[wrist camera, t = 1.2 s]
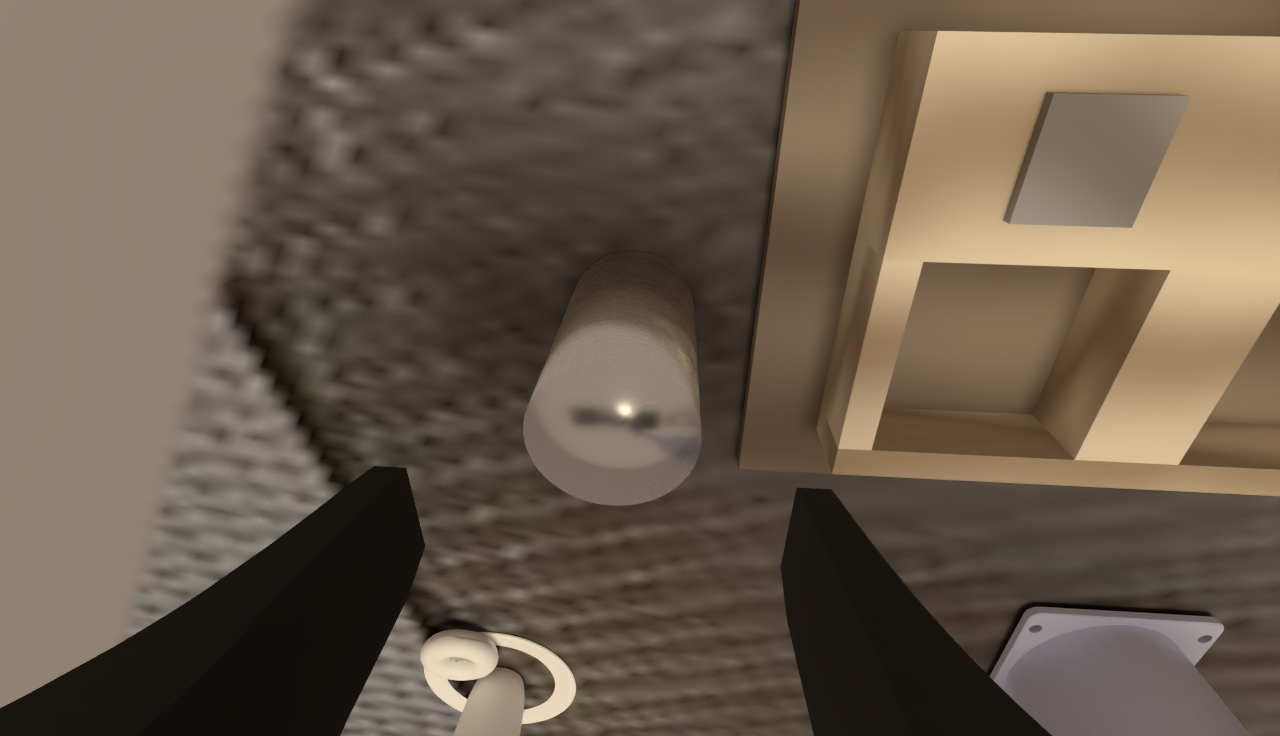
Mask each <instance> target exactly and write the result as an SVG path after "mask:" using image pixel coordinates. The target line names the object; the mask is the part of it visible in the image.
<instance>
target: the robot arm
mask: <svg viewBox="0 0 1280 736" xmlns="http://www.w3.org/2000/svg"><path fill="white" fill-rule="evenodd" d="M424 548H425V543H424V539H423V535H422V531H421V527H420V523H419V519H418V515H417V511H416V507H415V502H414V498H413V494H412V490H411V486H410V482H409V478H408V474H407V470H406V468H399V467H379V466H374V467H372V468H371V469H370V470H368V471H367V472H365V473H364V474H363V475H361V476H360V477H358V478H357V479H356V480H354V481H353V482H352V483H351V484H349V485H348V486H347V487H345V488H344V489H343V490H341V491H340V492H339V493H337V494H336V495H335V496H334V497H332V498H331V499H330V500H328V501H327V502H326V503H324V504H323V505H322V506H321V507H319V508H318V509H317V510H315V511H314V512H313V513H311V514H310V515H309V516H307V517H306V518H305V519H304V520H302V521H301V522H300V523H298V524H297V525H296V526H294V527H293V528H292V529H290V530H289V531H288V532H286V533H285V534H284V535H282V536H281V537H280V538H278V539H277V540H276V541H274V542H273V543H272V544H270V545H269V546H268V547H266V548H265V549H263V550H262V551H260V552H259V553H258V554H256V555H255V556H253V557H252V558H250V559H249V560H248V561H246V562H245V563H243V564H242V565H240V566H239V567H238V568H236V569H235V570H233V571H232V572H230V573H229V574H228V575H226V576H225V577H223V578H222V579H220V580H219V581H218V582H216V583H215V584H213V585H212V586H210V587H209V588H208V589H206V590H205V591H203V592H202V593H200V594H199V595H197V596H196V597H194V598H193V599H191V600H190V601H188V602H186V603H185V604H183V605H182V606H180V607H179V608H177V609H175V610H174V611H172V612H171V613H169V614H168V615H166V616H164V617H163V618H161V619H159V620H158V621H156V622H154V623H153V624H151V625H150V626H148V627H146V628H145V629H143V630H141V631H140V632H138V633H136V634H135V635H133V636H132V637H130V638H128V639H126V640H125V641H123V642H121V643H120V644H118V645H116V646H115V647H113V648H111V649H109V650H107V651H106V652H104V653H102V654H100V655H98V656H97V657H95V658H93V659H91V660H90V661H87V662H86V663H84V664H82V665H80V666H78V667H77V668H75V669H73V670H71V671H69V672H67V673H66V674H64V675H62V676H60V677H58V678H57V679H55V680H53V681H51V682H49V683H47V684H46V685H44V686H42V687H40V688H38V689H36V690H35V691H33V692H31V693H29V694H27V695H25V696H23V697H22V698H20V699H18V700H16V701H14V702H12V703H10V704H8V705H6V706H4V707H2V708H0V736H340V735H341V732H342V730H343V728H344V726H345V724H346V721H347V719H348V717H349V715H350V713H351V711H352V709H353V707H354V705H355V703H356V701H357V699H358V697H359V695H360V693H361V691H362V689H363V687H364V685H365V683H366V681H367V679H368V677H369V675H370V673H371V671H372V669H373V667H374V665H375V663H376V661H377V659H378V657H379V655H380V653H381V651H382V649H383V647H384V645H385V643H386V641H387V639H388V637H389V635H390V633H391V630H392V628H393V626H394V624H395V622H396V620H397V618H398V616H399V614H400V612H401V610H402V608H403V606H404V604H405V601H406V599H407V597H408V594H409V592H410V589H411V586H412V583H413V581H414V578H415V575H416V572H417V569H418V566H419V563H420V560H421V557H422V554H423V551H424ZM781 571H782V581H783V590H784V598H785V606H786V614H787V622H788V626H789V630H790V635H791V639H792V644H793V648H794V652H795V657H796V661H797V665H798V670H799V674H800V678H801V682H802V686H803V691H804V695H805V699H806V703H807V708H808V712H809V716H810V720H811V724H812V729H813V733H814V736H1251V735H1250V734H1249V733H1248V731H1247V730H1246V729H1245V728H1244V727H1243V725H1242V724H1241V723H1240V722H1239V720H1238V719H1237V718H1236V717H1235V715H1234V714H1233V713H1232V712H1231V711H1230V709H1229V708H1228V707H1227V706H1226V704H1225V703H1224V702H1223V701H1222V700H1221V698H1220V697H1219V696H1218V695H1217V693H1216V692H1215V691H1214V690H1213V688H1212V687H1211V686H1210V685H1209V684H1208V682H1207V681H1206V680H1205V679H1204V677H1203V676H1202V675H1201V674H1200V672H1199V671H1198V670H1197V669H1196V668H1195V665H1196V663H1197V662H1198V661H1199V660H1200V659H1201V657H1202V656H1203V655H1204V654H1205V653H1206V651H1207V650H1208V649H1209V648H1210V647H1211V645H1212V644H1213V643H1214V642H1215V641H1216V639H1217V638H1218V637H1219V636H1220V635H1221V633H1222V632H1223V630H1224V626H1223V625H1222V624H1221V623H1220V621H1219V620H1218V619H1216V618H1215V617H1210V616H1193V615H1176V614H1159V613H1141V612H1124V611H1107V610H1090V609H1073V608H1055V607H1032V608H1029V609H1028V610H1026V611H1025V612H1024V614H1023V616H1022V618H1021V619H1020V621H1019V623H1018V625H1017V627H1016V629H1015V631H1014V632H1013V634H1012V636H1011V638H1010V640H1009V642H1008V643H1007V645H1006V647H1005V649H1004V651H1003V653H1002V654H1001V656H1000V658H999V660H998V662H997V664H996V665H995V667H994V669H993V671H992V673H991V675H990V676H988V675H987V674H986V673H985V672H984V671H983V670H982V669H981V668H980V667H979V666H978V665H977V664H976V663H975V662H974V661H973V660H972V658H971V657H970V656H969V655H968V654H967V653H966V652H965V651H964V650H963V649H962V648H961V647H960V646H959V645H958V644H957V643H956V642H955V641H954V639H953V638H952V637H951V636H950V635H949V634H948V633H947V632H946V631H945V630H944V628H943V627H942V626H941V625H940V624H939V623H938V622H937V621H936V620H935V618H934V617H933V616H932V615H931V614H930V613H929V612H928V611H927V609H926V608H925V607H924V606H923V605H922V604H921V603H920V601H919V600H918V599H917V598H916V597H915V596H914V594H913V593H912V592H911V591H910V590H909V588H908V587H907V586H906V585H905V583H904V582H903V581H902V580H901V579H900V577H899V576H898V575H897V574H896V573H895V571H894V570H893V569H892V568H891V567H890V565H889V564H888V563H887V562H886V560H885V559H884V558H883V557H882V555H881V554H880V553H879V551H878V550H877V549H876V548H875V546H874V545H873V544H872V542H871V541H870V540H869V538H868V537H867V536H866V535H865V533H864V532H863V531H862V529H861V528H860V527H859V525H858V524H857V523H856V521H855V520H854V519H853V517H852V516H851V515H850V513H849V512H848V511H847V509H846V508H845V507H844V505H843V504H842V502H841V501H840V500H839V498H838V497H837V496H836V494H835V493H834V492H833V491H832V490H831V489H812V488H797V489H796V494H795V499H794V504H793V509H792V514H791V519H790V524H789V529H788V534H787V539H786V544H785V548H784V553H783V558H782V563H781Z"/></svg>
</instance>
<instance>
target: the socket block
mask: <svg viewBox="0 0 1280 736" xmlns="http://www.w3.org/2000/svg"><path fill="white" fill-rule="evenodd" d="M737 461H738V468H739V469H743V470H763V471H784V472H804V473H824V474H842V475H862V476H882V477H902V478H923V479H943V480H963V481H984V482H1004V483H1024V484H1044V485H1065V486H1085V487H1105V488H1126V489H1146V490H1166V491H1186V492H1207V493H1227V494H1247V495H1268V496H1280V0H796V4H795V12H794V19H793V27H792V35H791V43H790V51H789V58H788V66H787V74H786V82H785V90H784V97H783V105H782V113H781V121H780V129H779V136H778V144H777V152H776V160H775V168H774V176H773V183H772V191H771V199H770V207H769V215H768V222H767V230H766V238H765V246H764V254H763V261H762V269H761V277H760V285H759V293H758V300H757V308H756V316H755V324H754V332H753V339H752V347H751V355H750V363H749V371H748V379H747V386H746V394H745V402H744V410H743V418H742V425H741V433H740V441H739V449H738V457H737Z"/></svg>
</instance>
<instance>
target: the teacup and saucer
mask: <svg viewBox="0 0 1280 736" xmlns="http://www.w3.org/2000/svg"><path fill="white" fill-rule="evenodd" d="M495 645H499V646H505V647H510V648H514V649H517V650H520V651H523V652H525V653H528V654H530V655H532V656H533V657H535V658H537V659H538V660H540V661H541V662H542V663H543V664H545V665H546V666H547V667H548V669H549V670H550V671H551V673H552V674H553V677H554V679H555V690H554V693H553V695H552V696H551V697H550V699H549V700H547V701H546V702H545V703H543V704H541V705H539V706H537V707H534V708H531V709H526V710H524V697H525V693H524V684H523V680H522V678H521V676H520V675H519V674H518V673H516V672H515V671H513V670H510V669H507V668H502V667H496V665H497V663H498V658H499V656H498V651H497V648H496V646H495ZM420 659H421V662H422V664H423V666H424V674H425V678H426V680H427V682H428V684H429V686H430V688H431V689H432V690H433V691H434V693H435V694H436V695H437V696H438V697H439V698H440V699H442V700H443V701H444V702H446V703H447V704H448V705H450V706H451V707H453V708H455V709H457V710H459V711H461V712H462V714H461V717H460V719H459V722H458V725H457V727H456V730H455V732H454V735H453V736H520V731H521V724H528V723H535V722H540V721H544V720H547V719H550V718H552V717H554V716H556V715H558V714H560V713H561V712H563V711H564V710H565V709H566V708H567V707H568V706H569V705H570V704H571V703H572V701H573V699H574V697H575V693H576V682H575V678H574V675H573V673H572V672H571V670H570V668H569V667H568V666H567V664H566V663H565V662H564V661H563V660H562V659H561V658H560V657H558V656H557V655H556V654H555V653H553V652H552V651H550V650H549V649H547V648H545V647H543V646H541V645H539V644H537V643H535V642H533V641H530V640H527V639H524V638H521V637H518V636H514V635H509V634H504V633H495V632H474V631H469V630H460V629H454V630H446V631H442V632H439V633H436V634H434V635H433V636H431V637H430V638H429V639H428V640H427V641H426V642H425V644H424V645H423V647H422V649H421V653H420ZM447 679H450V680H460V681H465V680H474V679H478V680H477V682H476V683H475V685H474V687H473V689H472V691H471V693H470V695H469V697H468V699H466V698H464V697H463V696H461V695H460V694H459V693H458V692H456V691H455V690H454V689H453V688H452V686H451V685H450V684H449V682H448V680H447Z"/></svg>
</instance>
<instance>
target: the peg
mask: <svg viewBox="0 0 1280 736" xmlns="http://www.w3.org/2000/svg"><path fill="white" fill-rule="evenodd" d="M523 434H524V440H525V445H526V448H527V451H528V454H529V455H530V457H531V459H532V461H533V463H534V464H535V466H536V467H537V468H538V470H539V471H540V472H541V473H542V474H543V475H544V476H545V478H547V479H548V480H549V481H550V482H551V483H552V484H554V485H555V486H557V487H558V488H559V489H561V490H563V491H564V492H566V493H568V494H570V495H572V496H574V497H577V498H579V499H582V500H585V501H588V502H592V503H597V504H602V505H612V506H625V505H635V504H640V503H645V502H648V501H651V500H654V499H656V498H659V497H661V496H663V495H665V494H667V493H668V492H670V491H672V490H673V489H675V488H676V487H677V486H678V485H680V484H681V483H682V482H683V481H684V480H685V479H686V478H687V476H688V475H689V474H690V472H691V471H692V470H693V468H694V466H695V464H696V462H697V460H698V457H699V454H700V449H701V418H700V400H699V383H698V365H697V347H696V330H695V312H694V301H693V295H692V292H691V289H690V287H689V285H688V283H687V281H686V280H685V278H684V276H683V275H682V274H681V273H680V272H679V270H678V269H676V268H675V267H674V266H673V265H672V264H670V263H669V262H668V261H666V260H664V259H662V258H660V257H659V256H656V255H653V254H650V253H646V252H641V251H622V252H617V253H613V254H610V255H607V256H605V257H603V258H601V259H599V260H598V261H596V262H595V263H594V264H592V265H591V266H590V267H589V268H588V269H587V270H586V271H585V272H584V273H583V275H582V276H581V278H580V279H579V281H578V284H577V286H576V288H575V290H574V293H573V295H572V298H571V300H570V303H569V305H568V308H567V310H566V313H565V315H564V318H563V320H562V323H561V325H560V328H559V330H558V333H557V335H556V338H555V340H554V343H553V345H552V347H551V350H550V352H549V355H548V357H547V360H546V362H545V365H544V367H543V370H542V372H541V375H540V377H539V380H538V382H537V385H536V387H535V390H534V392H533V395H532V397H531V399H530V402H529V404H528V407H527V410H526V413H525V417H524V424H523Z"/></svg>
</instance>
